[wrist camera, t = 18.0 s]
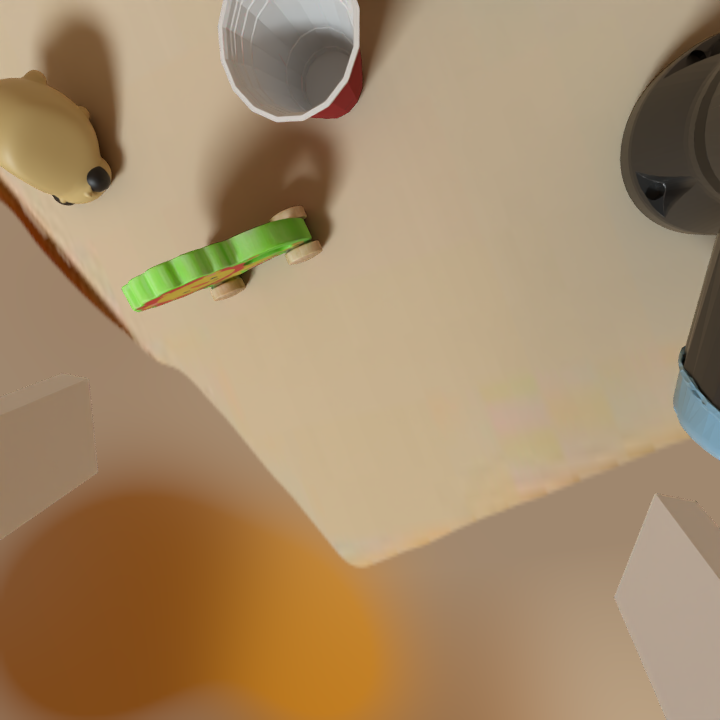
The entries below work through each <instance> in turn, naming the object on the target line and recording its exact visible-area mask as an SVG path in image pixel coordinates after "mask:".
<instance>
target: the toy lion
mask: <svg viewBox="0 0 720 720" xmlns="http://www.w3.org/2000/svg"><path fill="white" fill-rule="evenodd" d="M306 217H307V216H306V213H305V211H304V208H303V207H302V206H294V207H290V208H287V209H285V210H282V211H280V212H279V213H277V214H276V215H274V216H273V217H272V218H271V219H270V222H269V223H266V224H263V225H261V226H258V227H255V228H253V229H250V230H247V231H245V232H243V233H240V234H238V235H236V236H234V237H232V238H230V239H227V240H225V241H222V242H218V243H214V244H211V245H208V246H206V247H203V248H201V249H197V250H194V251H190V252H188V253H185V254H183V255H180V256H178V257H176V258H174V259H172V260H169V261H167V262H164V263H161V264H159V265H156V266H154V267H152V268H150V269H148V270H147V271H146V272H145V273H143V274H141V275H139V276H137V277H135V278H133V279H131V280H130V281H129V282H128V284H126V285H125V286H123V287H122V288H121V289H122V291H123V293H124V294H125V296H126V298H127V300H128V302H129V304H130V306H131V307H132V309H133V310H134V311H136V312H140V311H144V310H147V309H150V308H154V307H157V306H160V305H163V304H166V303H168V302H171V301H173V300H176V299H179V298H182V297H184V296H187V295H189V294H191V293H194V292H196V291H198V290H201V289H204V288H208V287H212V290H210V293H211V295H212V297H213V299H214V301H218V300H223V299H226V298H229V297H232V296H234V295H236V294H238V293H239V292H241V291H242V290H244V289H245V288H246V286H245V284H244V282H243V280H242V278H240V277H238V276H239V275H240V274H242V273H244V272H246V271H247V270H249V269H251V268H253V267H255V266H257V265H259V264H261V263H263V262H265V261H268V260H270V259H272V258H274V257H276V256H278V255H280V254H283V253H285V252H286V254H285V257H286V259H287V261H288V263H289V265H292V264H298V263H301V262H304V261H307V260H309V259H311V258H313V257H314V256H316V255H318V254H319V253H320V252H321V251H322V248H321V245H320V243H319V241H317V240H316V241H312V242H311V239H312V237H311V235H310V233H309V230H308V228H307V226H306V224H305V222H304V219H305V218H306Z"/></svg>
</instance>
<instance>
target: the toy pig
mask: <svg viewBox="0 0 720 720" xmlns="http://www.w3.org/2000/svg"><path fill="white" fill-rule="evenodd" d="M89 119H90V114H89V111H88V110H87V109H86V108H85V107H83V106H76V105H75V104H74V103H73V102H72V101H71V100H70V99H69V98H68V97H66V96H65V95H64V94H62V93H61V92H59V91H57V90H55V89H54V88H52V87H50V86H48V85H47V81H46V77H45V76H44V75H43V74H42V73H41V72H39V71H37V70H31V71H29V72H28V73H26V74H25V76H24V77H22V78H8V79H2V80H0V166H1V167H3V168H4V169H5V170H7V171H8V172H10V173H11V174H13V175H14V176H16V177H17V178H19V179H21V180H22V181H24V182H26V183H27V184H29V185H31V186H33V187H34V188H36V189H38V190H40V191H43V192H45V193H48V194H51V195H52V196H53V197H54V199H55V200H56V201H57V202H59V203H61V204H63V205H73V204H83V203H88V202H91V201H93V200H95V199H97V198H98V197H99V196H101V195H102V194H103V193H104V192H105V191H106V189H107V188H108V187H109V186H110V183H111V178H112V173H111V169H110V166H109V165H108V163H107V162H106V161H105V160H104V159H103V158H102V157H101V156H100V151H99V145H98V140H97V136H96V133H95V131H94V129H93V127H92V125H91V123H90V121H89Z"/></svg>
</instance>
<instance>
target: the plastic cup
mask: <svg viewBox="0 0 720 720" xmlns="http://www.w3.org/2000/svg"><path fill="white" fill-rule="evenodd" d="M218 33H219V45H220V57H221V62H222V65H223V67H224V70H225V72H226V75H227V77H228V79H229V82H230V84H231V87H232V89H233V91H234V92H235V93H236V94H237V95H238V96H239V97H240V99H241V100H242V101H243V102H244V103H245V104H246V105H247V106H248V107H249V109H250V110H251V111H252V112H254V113H257V114H259V115H261V116H263V117H266V118H268V119H270V120H273V121H275V122H290V121H304V120H306V119H308V118H310V117H312V118H324V119H330V118H339V117H341V116H343V115H345V114H346V113H348V112H350V110H351V109H352V108H353V107H354V106H355V104H356V103H357V102H358V99H359V96H360V93H361V90H362V59H361V53H360V10H359V5H358V2H357V0H223V4H222V9H221V14H220V18H219V23H218Z"/></svg>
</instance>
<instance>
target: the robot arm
mask: <svg viewBox="0 0 720 720" xmlns="http://www.w3.org/2000/svg"><path fill="white" fill-rule="evenodd" d="M620 162H621V172H622V177H623V181H624V184H625V187H626V190H627V192H628V194H629V196H630V198H631V199H632V201H633V202H634V204H635V205H636V206H637V208H638V209H639V210H640V211H641V212H642V213H643V214H644V215H645V216H646V217H648V218H649V219H650V220H652V221H653V222H655V223H657V224H658V225H660V226H662V227H665V228H667V229H670V230H673V231H676V232H681V233H687V234H699V235H717V237H716V240H715V244H714V247H713V251H712V254H711V258H710V261H709V265H708V269H707V272H706V276H705V279H704V283H703V286H702V290H701V293H700V297H699V300H698V304H697V307H696V311H695V314H694V318H693V322H692V325H691V329H690V332H689V336H688V339H687V343H686V346H684V347H683V348H682V349H681V352H680V354H679V359H678V362H679V370H680V371H679V375H678V379H677V384H676V388H675V393H674V399H673V404H674V410H675V412H676V414H677V417H678V419H679V422H680V424H681V426H682V427H683V429H684V430H685V431H686V432H687V433H688V435H689V436H690V437H691V438H692V439H693V440H694V441H695V442H696V443H697V444H699V445H700V446H701V447H702V448H703V449H704V450H706V451H707V452H708V453H710V454H711V455H712V456H714V457H715V458H717V459H718V460H720V33H718V34H716V35H713V36H711V37H709V38H708V39H706V40H704V41H702V42H700V43H699V44H697V45H696V46H694V47H693V48H691V49H690V50H688V51H687V52H685V53H684V54H683V55H681V56H680V57H679V58H677V59H676V60H675V61H673V62H672V63H671V64H670V65H668V66H667V67H666V68H665V69H664V70H663V71H662V72H661V73H660V74H659V75H658V76H657V77H656V78H655V79H654V80H653V81H652V82H651V83H650V85H649V86H648V87H647V88H646V90H645V91H644V92H643V94H642V95H641V97H640V98H639V100H638V102H637V103H636V105H635V107H634V109H633V111H632V113H631V115H630V117H629V120H628V122H627V125H626V128H625V131H624V135H623V139H622V145H621V157H620ZM96 473H98V467H97V456H96V446H95V435H94V425H93V415H92V404H91V394H90V384H89V378H86V377H81V376H76V375H71V374H66V373H61V374H58V375H56V376H53V377H50V378H48V379H45V380H42V381H40V382H37V383H34V384H32V385H29V386H27V387H24V388H21V389H19V390H16V391H13V392H11V393H8V394H5V395H3V396H0V540H1V539H3V538H4V537H6V536H7V535H8V534H10V533H11V532H13V531H14V530H16V529H17V528H19V527H20V526H21V525H23V524H24V523H26V522H27V521H29V520H30V519H31V518H33V517H34V516H36V515H37V514H39V513H40V512H42V511H43V510H45V509H46V508H47V507H49V506H50V505H52V504H53V503H54V502H56V501H58V500H59V499H60V498H62V497H63V496H65V495H66V494H68V493H69V492H70V491H72V490H73V489H75V488H76V487H77V486H79V485H80V484H82V483H83V482H85V481H86V480H88V479H89V478H91V477H92V476H93V475H95V474H96ZM614 598H615V601H616V603H617V605H618V608H619V610H620V612H621V615H622V617H623V619H624V622H625V624H626V626H627V629H628V631H629V634H630V636H631V638H632V641H633V643H634V645H635V647H636V650H637V652H638V655H639V657H640V659H641V661H642V664H643V666H644V669H645V671H646V673H647V676H648V678H649V680H650V683H651V685H652V687H653V689H654V692H655V694H656V697H657V699H658V701H659V704H660V706H661V708H662V711H663V713H664V715H665V718H666V720H720V528H719V526H718V525H717V524H716V523H715V522H714V521H713V520H712V518H711V517H710V516H709V515H708V514H707V513H706V512H705V510H704V509H703V508H702V507H701V506H700V505H699V504H698V502H697V501H692V500H687V499H682V498H677V497H673V496H668V495H663V494H658V493H655V495H654V497H653V500H652V502H651V505H650V507H649V510H648V512H647V515H646V517H645V520H644V522H643V525H642V527H641V530H640V533H639V535H638V538H637V540H636V543H635V545H634V548H633V551H632V553H631V555H630V558H629V561H628V563H627V566H626V568H625V571H624V573H623V576H622V579H621V581H620V583H619V586H618V589H617V591H616V594H615V596H614Z"/></svg>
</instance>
